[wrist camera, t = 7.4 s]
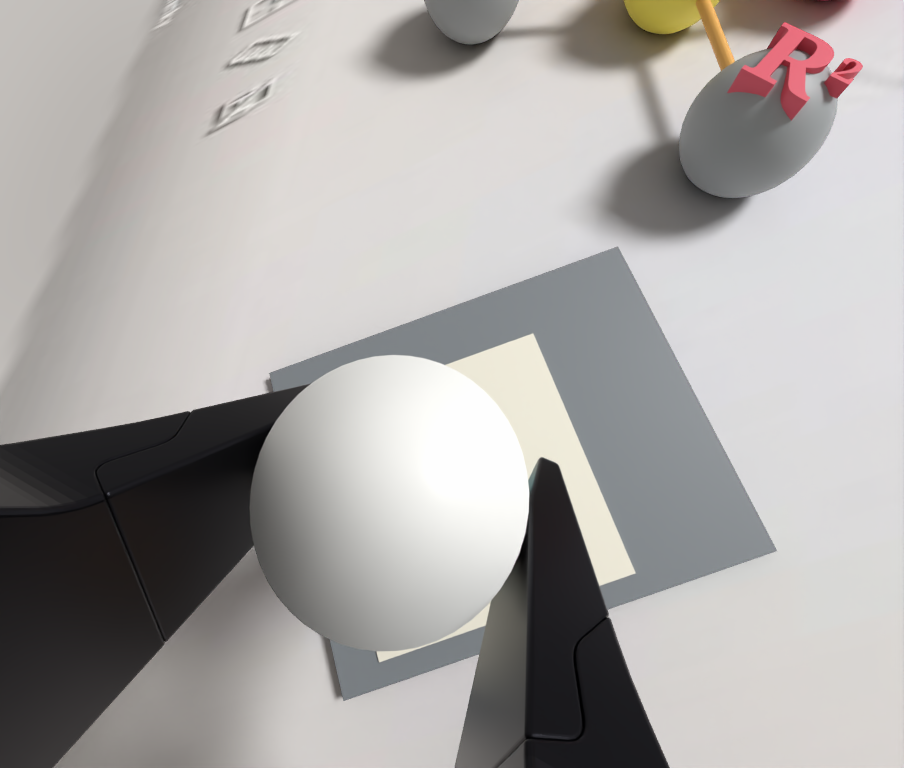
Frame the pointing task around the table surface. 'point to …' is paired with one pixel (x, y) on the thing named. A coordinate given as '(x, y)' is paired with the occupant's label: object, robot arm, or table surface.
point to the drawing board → (578, 437)
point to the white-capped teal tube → (389, 503)
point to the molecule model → (719, 92)
